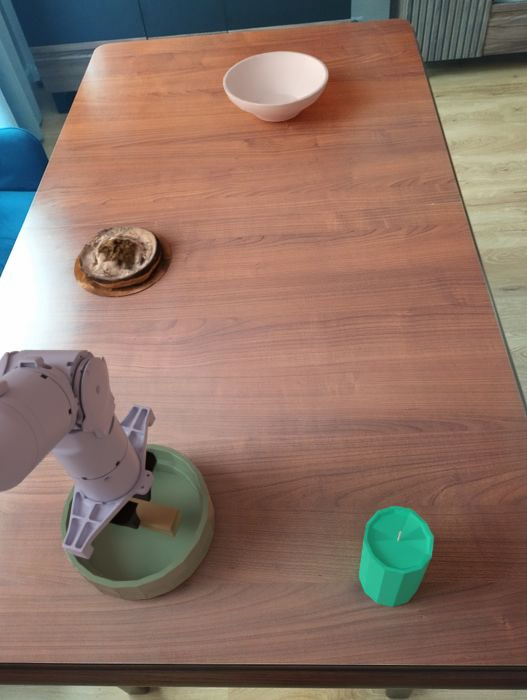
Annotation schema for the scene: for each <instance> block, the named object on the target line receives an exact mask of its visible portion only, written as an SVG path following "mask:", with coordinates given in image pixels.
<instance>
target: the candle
mask: <svg viewBox="0 0 527 700" xmlns="http://www.w3.org/2000/svg"><path fill="white" fill-rule="evenodd" d="M362 541H363V543H362V550H361V555H360V556H361V557H360V563H359V569H358V579H359V582H360V585H361V587H362V591H363V592H364V593H365V594H366V595H367V596H368V597H369V598H370V599H371V600H372V601H374V602H375V603H376V604H378V605H381V606H382V605H383V606H386V607H391V608H394V607H398V606H401V605H404V604H407V603H409V602H410V600H411V599H412V598H413V597H414V595H415V594H416V593H417V592H418V590H419V588H420V585H421V583H422V581H423V578H424V575H425V574H426V571H427V569H428V567H429V564H430V562H431V560H432V558H433V550H434V541H435V537H434V534H433V532H432V531H431V529H430V527H429V525H428V523H427V521H426V520H425V519H424V518H423V517H421V516H420V515H419V514H418V513H417V512H416V511H415V510H413V508H409V507H403V506H400V505H399V506H398V505H392V506H388V507H386V508H382V509H377V511H375V512H374V514H373V515H372V516H371V517H370V519H369V520H368V521H367V522H366V524H365V529H364V536H363V540H362Z"/></svg>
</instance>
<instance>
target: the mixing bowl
mask: <svg viewBox="0 0 527 700" xmlns="http://www.w3.org/2000/svg"><path fill="white" fill-rule="evenodd" d="M146 451H148V452H151V453H153V454H154V455H155V457H156V459H157V463H156V466H155V468H154V470H153V473H152V474H153V476H154V480H153V482H152V484H151V500H150V502H153V503H156V504H160V505H164V506H168V507H171V508H175V509H178V510H179V512H180V514H181V516H182V520H181V523H180V525H179V528H178V530H177V533H176V535H175V537H171V536H168V535H164V534H161V533H157V532H154V531H150V530H146V529H143V528H138V529H133V528H130V527H126V526H119V525H115V524H112V523H108V524H107V525H106V526H105V527H104V528H103V529H102V531H101V532H100V533H99V534H98V535H97V536H96V537H95V539H94V540H93V541H92V543H91V545H92V546H93V548H94V550H93V552H92V554H91V557H90V559H86V558H82V557H79V556H76V555H73V554H70V553H68V552H67V551H66V550H65V549H64V548H63V547H62V548H63V550H64V553H65V554H66V556H67V558H68V561H70V563H71V566H72V567H73V568H74V569H75V570H76V571H77V572H78V573H79V574H80V575H81V576H82V577H84V578H85V579H86V580H87V581H88V582H89V583H91V584H92V585H93V586H94V587H95V588H96V589H98V591H100V592H102V593H103V594H105V595H107V596H110V597H114V598H117V599H120V600H124V601H135V600H149V599H152V598H155V597H158V596H161V595H163V594H166V593H168V592H171V591H173V590H175V589H176V588H177V587H179V586H180V585H181V584H182V583H184V582H185V581H186V580H188V578H190V577H192V575H193V574H194V572H195V571H196V570H197V568H198V567H199V566H200V564H201V563H202V562H203V560H204V559H205V558H206V556H208V555H207V554H208V551H209V550H210V546H211V544H212V541H213V539H214V535H215V523H216V522H215V519H216V518H215V516H216V512H215V508H214V504H213V502H212V501H213V500H212V498H211V493H210V491H209V489H208V486H207V484H206V481H205V479H204V476H203V473H201V472H200V470H199V469H198V467H197V466H196V465H195V464H194V462H193V461H192V459H190V458H189V457H188V456H186V455H184V454H183V453H180V451H178V450H176V449H175V448H173V447H169V446H165V445H160V444H156V443H147V448H146ZM74 489H75V483H74V484H73V486H72V488H71V490H70V492H69V493H68V496H67V497H66V499H65V502H64V504H63V508H62V514H61V517H60V518H61V519H60V523H59V527H60V528H59V529H60V535H61V543H62V544H63V542H64V539H65V537H66V534H67V531H68V527H69V522H70V515H71V509H72V502H73V496H74ZM62 544H61V545H62Z"/></svg>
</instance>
